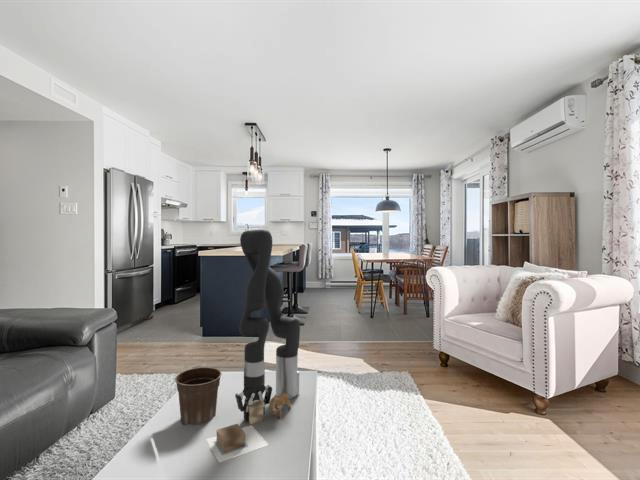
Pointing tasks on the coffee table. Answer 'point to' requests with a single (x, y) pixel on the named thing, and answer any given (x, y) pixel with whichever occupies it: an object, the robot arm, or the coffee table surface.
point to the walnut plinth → (230, 438)
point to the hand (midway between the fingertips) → (254, 418)
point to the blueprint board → (251, 443)
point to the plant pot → (198, 394)
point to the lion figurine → (279, 404)
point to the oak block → (255, 412)
